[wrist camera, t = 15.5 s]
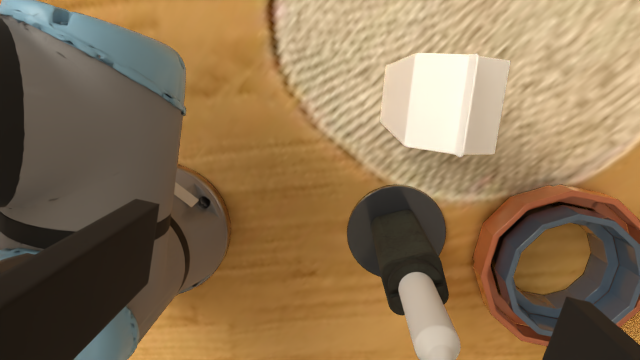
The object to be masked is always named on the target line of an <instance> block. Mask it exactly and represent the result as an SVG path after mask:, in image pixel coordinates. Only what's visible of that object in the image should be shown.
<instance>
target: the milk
mask: <svg viewBox="0 0 640 360" xmlns="http://www.w3.org/2000/svg"><path fill="white" fill-rule="evenodd" d="M509 67H510V61H509V60H504V59H497V58H490V57H483V56H479V55H478V54H471V55H464V54H437V53H415V54H413V55H410V56H408V57H406V58H403V59H401V60H398V61H396V62H394V63H391V64H389V65H386V70H385V79H384V88H383V97H382V106H381V114H380V123H381V124H382V125H383V126H384V127H385V128H386V129H387V130H388V131H389V132H390V133H391V134H392V135H394V136H395V137H396V138H397V139H398V140H399V141H400V142H401V143H402V144H403V145H404V146H405V147H410V148H416V149H423V150H429V151H436V152H442V153H448V154H455V155H457V156H458V157H460V158H462V157H463V155H491V154H494V153H495V149H496V143H497V137H498V131H499V125H500V120H501V114H502V108H503V102H504V96H505V91H506V85H507V79H508V73H509Z"/></svg>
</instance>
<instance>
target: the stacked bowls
mask: <svg viewBox="0 0 640 360" xmlns="http://www.w3.org/2000/svg"><path fill="white" fill-rule="evenodd" d="M558 201H559V202H564V203H568V204H573V205H578V206H583V207H585V208H586V209H588V210H585V209H581V208H576V207H571V206H566V205H558V204H553V203H555V202H558ZM604 203H605V204H604ZM619 217H620V218H621V219H622V220H623V221H624V222H625V223H626V224H627V226H626V224H625V223H624V222H623V221H622V220H621V219H620V218H619ZM567 223H574V224H578V225H580V226H581V227H582V228H583V229H584V230H585V231H586V232H587V236H588V240H589V245H590V249H591V255H590V258H589V260H588V263H587V266H586V269H585V271H584V274H583V275H582V276H581V277H579V278H578V279H577V280H576V281H575V282H574V283H573V284H571V285H570V286H569V287H568V288H567V289H566V290H562V291H558V292H554V293H551V294H547V295H539V294H534V293H530V292H525V291H521V290H520V289H519V288H518V287H517V286H516V285H515V282H514V278H513V276H514V273H515V270H516V267H517V264H518V261H519V258H520V255H521V252H522V251H523V250H524V249H525V248H527V247H528V246H529V245H530V244H531V243H532V242H533V241H534V240H535V239H536V238H537V237H538V236H539V235H541V234H542V233H543V232H544V231H545V230H546V229H550V228H553V227H556V226H560V225H563V224H567ZM627 228H628V231H627ZM628 232H629V234H628ZM473 261H474V266H473V267H474V271H475V274H476V278H477V281H478V285H479V288H480V292H481V295H482V299H483V303H484V304H485V306H486V307H487V309H488V310H489V312H490V313H491V315H492V316H494V317H495V318H496V319H497V320H498V321H499V322H500V323H502V324H503V325H504V326H505V327H506V328H507V329H508V330H510V331H511V332H512V333H513V334H514V335H515V336H516V337H518V338H519V339H520V340H521V341H525V342H530V343H534V344H539V345H544V346H548V344H549V341H550V338H551V336H552V333H553V330H554V328H555V325H556V323H557V320H558V317H559V315H560V312H561V309H562V307H563V304H564V302H565V299H566V297H571V298H575V299H580V300H584V301H588V302H591V303H592V304H593V305H594V306H595V307H597V308H598V309H599V310H600V311H601V312H602V313H603V314H605V315H606V316H607V317H608V318H609V319H610V320H611V321H613V322H614V323H615V324H616V325H617V326H618V327H621V326H622V325H623V324H624V323H625V322H627V321H628V320H629V319H630V318H631V317H633V316H634V315H635V314H636V313H637V312H639V311H640V220H639V219H638V218H637V217H636V216H635V215H634V214H633V213H632V212H631V211H629V210H628V209H627V208H626V207H625V206H624V205H623V204H622V203H621V202H620V201H619V200H618V199H616V198H613V197H611V196H608V195H606V194H604V193H599V192H595V191H590V190H585V189H580V188H575V187H571V186H566V185H561V184H560V185H556V186H551V185H548V186H544V187H541V188H538V189H534V190H531V191H528V192H524V193H521V194H517V195H514V196H511V197H510V198H509V199H508V200H507V201H505V202H504V203H503V204H502V205H501V206H500V207H499V208H498V209H497V210H496V211H495V212H494V213H493V214H492V215H491V216H490V217H489V218H488V219H487V220H486V221H485V222H484V223H483V225H482V228H481V232H480V235H479V238H478V242H477V245H476V248H475V252H474V255H473ZM491 262H492V265H493V268H494V272H495V276H496V279H497V282H498V284H499V288H500V291H501V293H500V292H499V291H498V290H497V287H496V284H495V280H494V276H493V273H492V269H491ZM518 304H519V305H518ZM499 309H500V310H501V311H500V310H499ZM507 316H508V317H509V318H510V319H509V318H508V317H507ZM515 323H518V324H515ZM520 324H523V325H520ZM525 325H527V326H525Z"/></svg>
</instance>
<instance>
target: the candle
mask: <svg viewBox="0 0 640 360" xmlns="http://www.w3.org/2000/svg"><path fill="white" fill-rule="evenodd" d="M371 230H372V235H373V240H374V245H375V250H376V254H377V259H378V264H379V269H380V274H381V278H382V282H383V286H384V289H385V293H386V296H387V300H388V304H389V307H390V309H391V310H392V311H393V312H394V313H396V314H398V315H405V317H406V320H407V324H408V328H409V331H410V335H411V338H412V342H413V346H414V349H415V352H416V354H417V356H418V358H419V359H420V360H456V358H457V357H458V355H459V353H460V348H461V347H460V340H459V337H458V335H457V333H456V331H455V328H454V326H453V324H452V322H451V320H450V318H449V315H448V313H447V311H446V309H445V307H444V304H445V303H446V302H447V300H448V296H449V293H448V288H447V284H446V280H445V276H444V272H443V268H442V263H441V261H440V258H439V257H438V255H437V253H436V251H435V249H434V248H433V246H432V244H431V242H430V241H429V239H428V237H427V235H426V233H425V232H424V230H423V228H422V226H421V225H420V223H419V221H418V219H417V218H416V216H415V214H414V213H413V212H412V211H410V210H401V211H397V212H393V213H389V214H385V215H381V216H378V217H376V218H375V219H374V220H373V221H372V223H371Z"/></svg>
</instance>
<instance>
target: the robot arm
mask: <svg viewBox="0 0 640 360" xmlns="http://www.w3.org/2000/svg"><path fill="white" fill-rule="evenodd" d="M185 82H186V68H185V64H184V62H183V60H182V58H181V57H180V56H179V54H178V53H177V52H176V51H175V50H173V49H172V48H171V47H169V46H167V45H166V44H163V43H161V42H159V41H157V40H155V39H152V38H150V37H147V36H145V35H142V34H140V33H137V32H134V31H131V30H129V29H126V28H123V27H120V26H118V25H115V24H112V23H109V22H106V21H103V20H100V19H97V18H94V17H90V16H87V15H84V14H80V13H77V12H69V11H68V10H66V9H62V8H58V7H55V6H52V5H50V4H47V3H44V2H40V1H36V0H2V2H1V5H0V360H127V359H129V357H130V356H131V355H132V354H133V353H134V350H135V349H136V348H137V344H138V343H139V342H140V341H141V339H142V338H143V337H144V335H145V334H146V333H147V332H148V330H149V329H150V328H151V326H152V325H153V324H154V322H155V321H156V320H157V319H158V317H159V316H160V315H161V313H162V312H163V311H164V310H165V308H166V307H167V306H168V304H169V303H170V302H171V301H172V299H173V298H174V297H175V296H176V295H178V294H180V293H183V292H186V291H189V290H191V289H193V288H195V287H197V286H199V285H200V284H202V283H203V282H205V281H206V280H207V279H208V278H209V277H210V276H211V275H212V274H213V273H214V272H215V271H216V269H217V268H218V266H219V265H220V263H221V262H222V260H223V258H224V257H225V254H226V252H227V249H228V246H229V242H230V234H231V227H230V219H229V215H228V211H227V208H226V206H225V204H224V202H223V200H222V198H221V196H220V195H219V193H218V192H217V190H216V189H215V188H214V187H213V186H212V185H211V184H210V183H209V182H208V181H207V180H206V179H205V178H204V177H202V176H201V175H200V174H198V173H196V172H195V171H193V170H191V169H189V168H187V167H184V166H181V165H178V164H177V163H178V155H179V146H180V137H181V128H182V119H183V116H185V115H186V108H185V106H184V97H185ZM542 360H640V345H639V344H638V343H637V342H635V341H634V340H633V339H632V338H631V337H630V336H629V335H627V334H626V333H625V332H624V331H623V330H622V329H621V328H619V327H618V326H617V325H616V324H615V323H614V322H613V321H611V320H610V319H609V318H608V317H607V316H606V315H605V314H603V313H602V312H601V311H600V310H599V309H598V308H597V307H595V306H594V305H593V304H592V303H591V302H588V301H584V300H580V299H575V298H571V297H566V299H565V302H564V304H563V307H562V309H561V312H560V315H559V317H558V320H557V323H556V325H555V328H554V330H553V333H552V336H551V338H550V341H549V344H548V346H547V349H546V351H545V354H544V357H543V359H542Z"/></svg>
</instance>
